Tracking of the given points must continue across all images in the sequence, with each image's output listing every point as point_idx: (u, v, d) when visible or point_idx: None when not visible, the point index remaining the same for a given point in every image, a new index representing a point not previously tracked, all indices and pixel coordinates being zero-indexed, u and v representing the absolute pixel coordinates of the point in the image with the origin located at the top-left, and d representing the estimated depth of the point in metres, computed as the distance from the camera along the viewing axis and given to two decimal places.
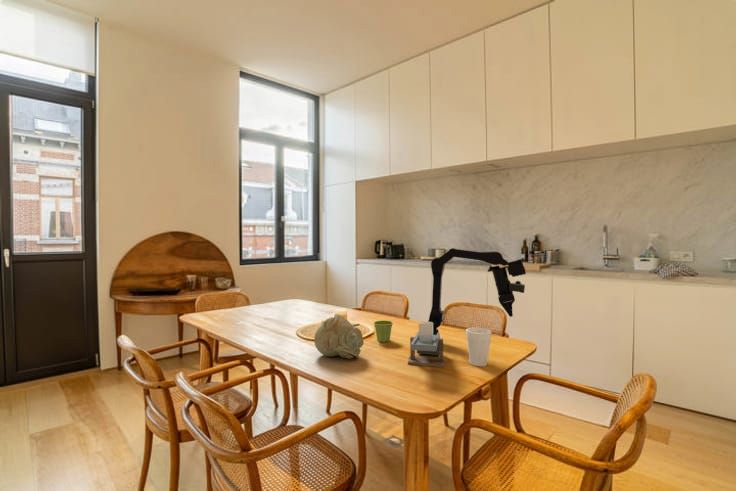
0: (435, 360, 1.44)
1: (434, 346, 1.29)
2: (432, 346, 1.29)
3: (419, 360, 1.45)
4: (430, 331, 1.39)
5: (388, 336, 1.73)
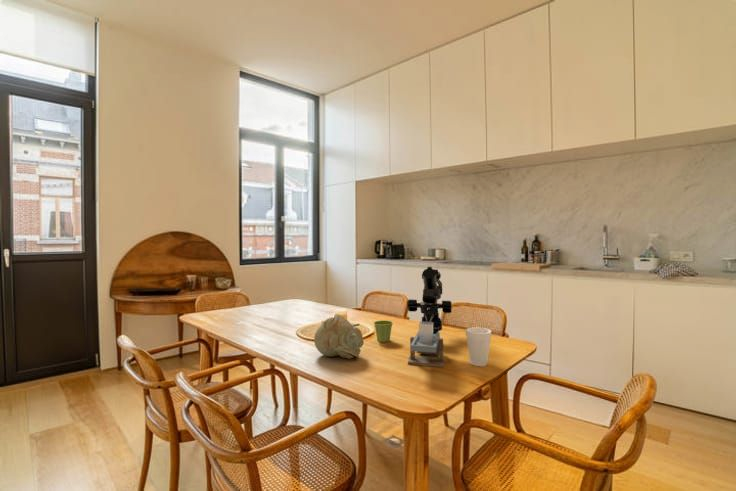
0: (435, 360, 1.44)
1: (434, 347, 1.29)
2: (432, 347, 1.29)
3: (419, 360, 1.45)
4: (430, 331, 1.39)
5: (388, 336, 1.73)
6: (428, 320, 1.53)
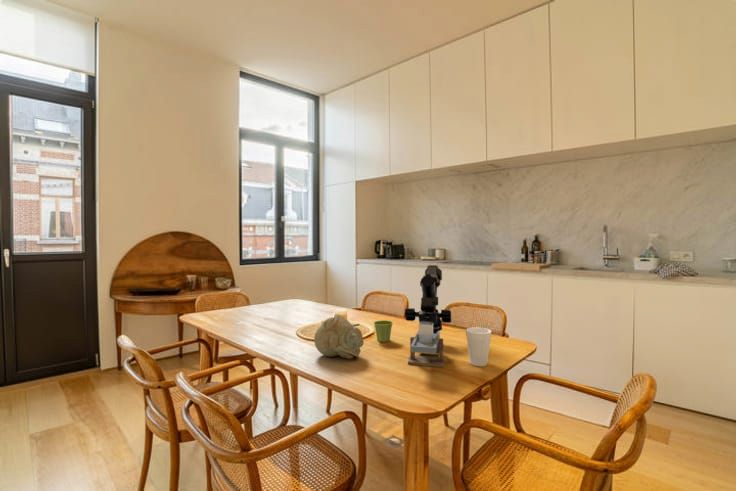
0: (435, 360, 1.44)
1: (434, 348, 1.29)
2: (432, 348, 1.29)
3: (419, 360, 1.45)
4: (430, 332, 1.39)
5: (388, 336, 1.73)
6: None
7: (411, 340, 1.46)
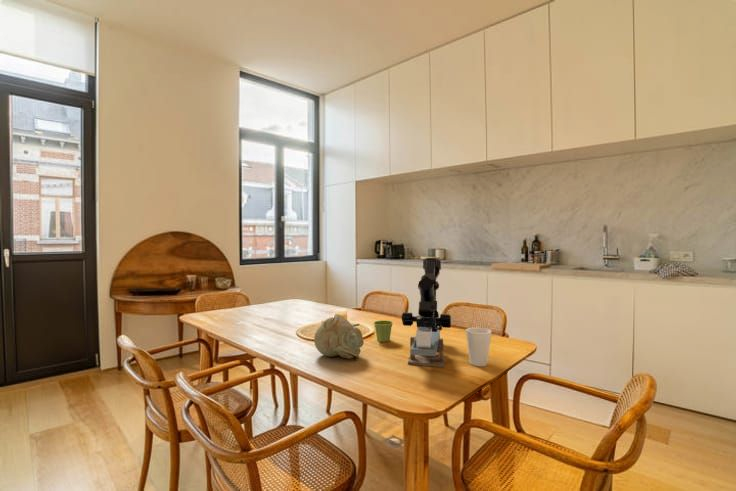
0: (435, 360, 1.44)
1: (434, 351, 1.29)
2: (432, 351, 1.29)
3: (419, 360, 1.45)
4: (428, 339, 1.31)
5: (388, 336, 1.73)
6: None
7: (411, 340, 1.46)
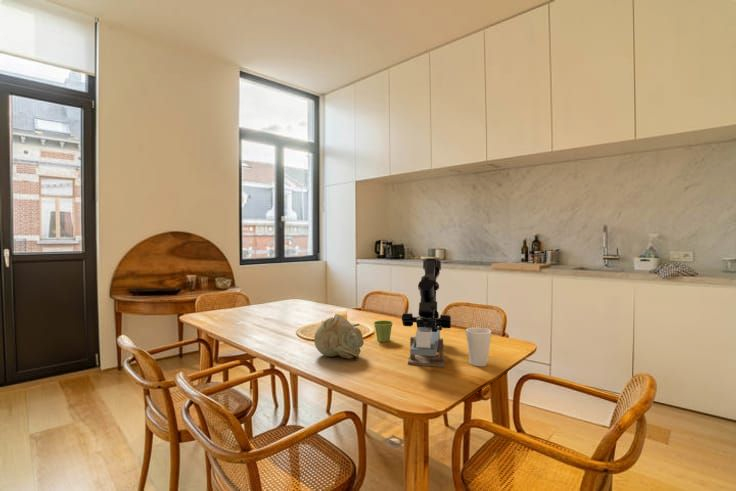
0: (435, 360, 1.44)
1: (434, 351, 1.29)
2: (432, 351, 1.29)
3: (419, 360, 1.45)
4: (428, 339, 1.30)
5: (388, 336, 1.73)
6: None
7: (411, 340, 1.46)
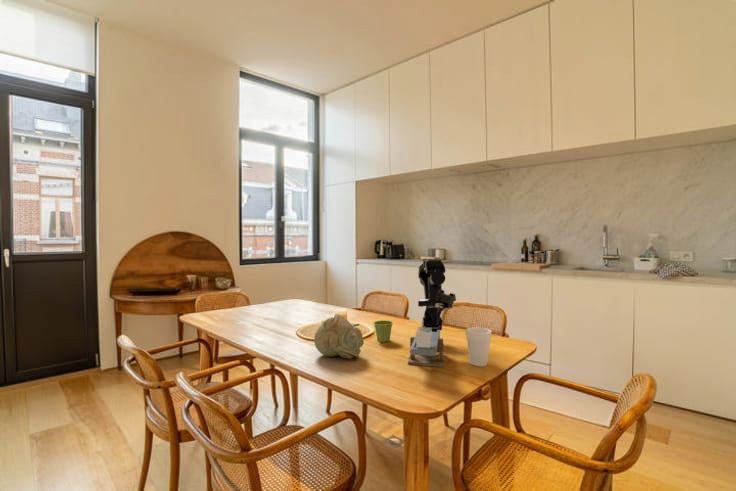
0: (435, 360, 1.44)
1: (434, 351, 1.29)
2: (432, 351, 1.29)
3: (419, 360, 1.45)
4: (428, 339, 1.30)
5: (388, 336, 1.73)
6: (437, 322, 1.56)
7: (411, 340, 1.46)
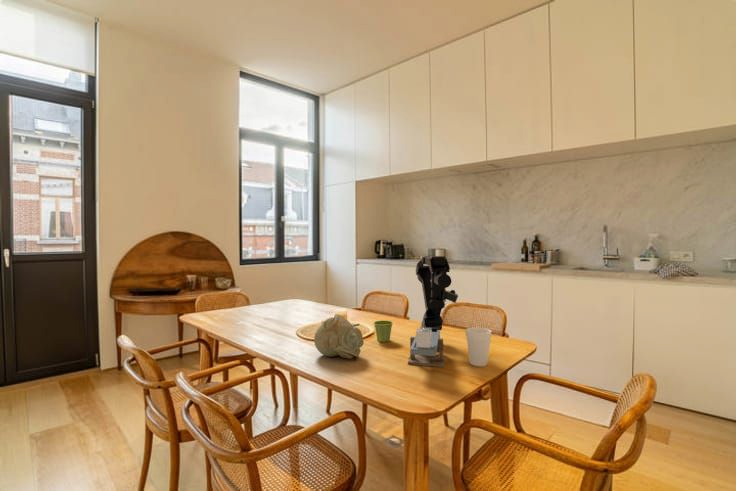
0: (435, 360, 1.44)
1: (434, 351, 1.29)
2: (432, 351, 1.29)
3: (419, 360, 1.45)
4: (428, 339, 1.30)
5: (388, 336, 1.73)
6: (439, 318, 1.60)
7: (411, 340, 1.46)
